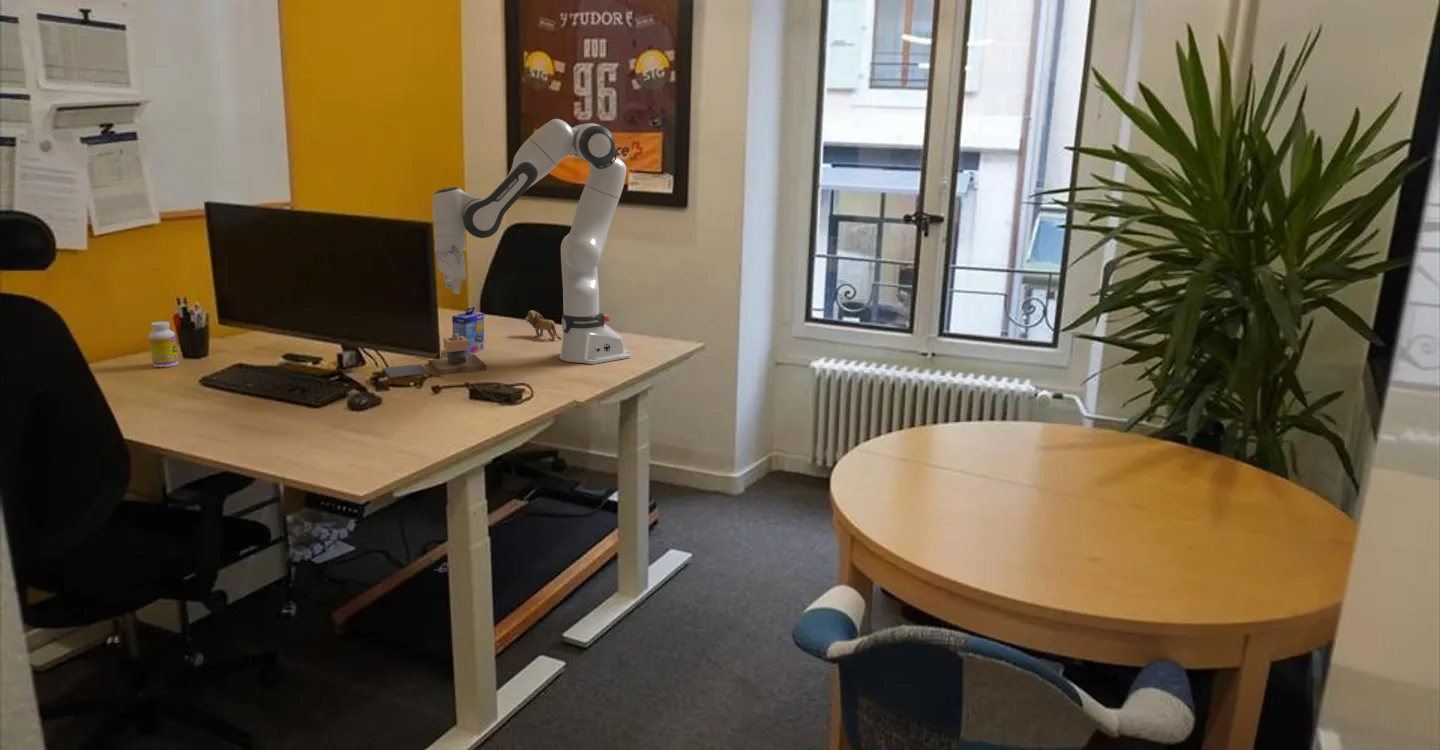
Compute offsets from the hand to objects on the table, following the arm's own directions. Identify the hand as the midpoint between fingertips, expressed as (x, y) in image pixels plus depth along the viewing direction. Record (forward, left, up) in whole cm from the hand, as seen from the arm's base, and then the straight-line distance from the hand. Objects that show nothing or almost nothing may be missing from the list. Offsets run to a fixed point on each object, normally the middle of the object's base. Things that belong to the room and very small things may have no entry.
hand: (452, 290), depth 282 cm
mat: (+15, 0, -23) cm, 28 cm away
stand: (0, 0, -23) cm, 23 cm away
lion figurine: (-35, -25, -23) cm, 49 cm away
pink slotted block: (0, 0, -18) cm, 18 cm away
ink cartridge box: (-8, -17, -23) cm, 30 cm away
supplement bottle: (+77, -36, -23) cm, 88 cm away
